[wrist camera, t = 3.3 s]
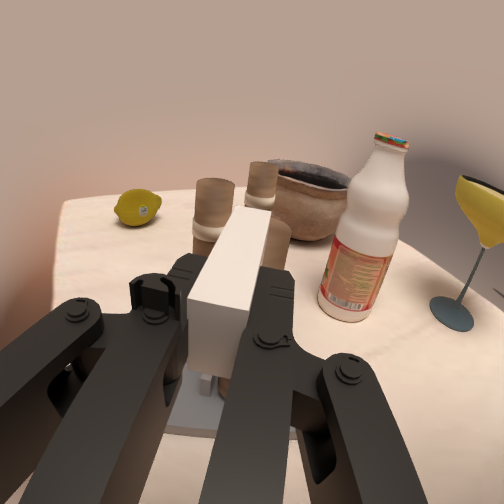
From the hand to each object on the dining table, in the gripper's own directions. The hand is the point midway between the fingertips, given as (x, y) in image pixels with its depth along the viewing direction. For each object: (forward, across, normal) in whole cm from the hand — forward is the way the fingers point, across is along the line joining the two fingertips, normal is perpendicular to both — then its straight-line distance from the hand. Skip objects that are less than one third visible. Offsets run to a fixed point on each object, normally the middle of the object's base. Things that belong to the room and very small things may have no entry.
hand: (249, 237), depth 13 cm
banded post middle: (+19, -6, -22) cm, 29 cm away
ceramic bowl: (+55, +7, -24) cm, 61 cm away
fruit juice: (+29, +15, -24) cm, 41 cm away
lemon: (+45, -29, -24) cm, 59 cm away
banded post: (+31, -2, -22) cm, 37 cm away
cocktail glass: (+32, +39, -24) cm, 55 cm away
